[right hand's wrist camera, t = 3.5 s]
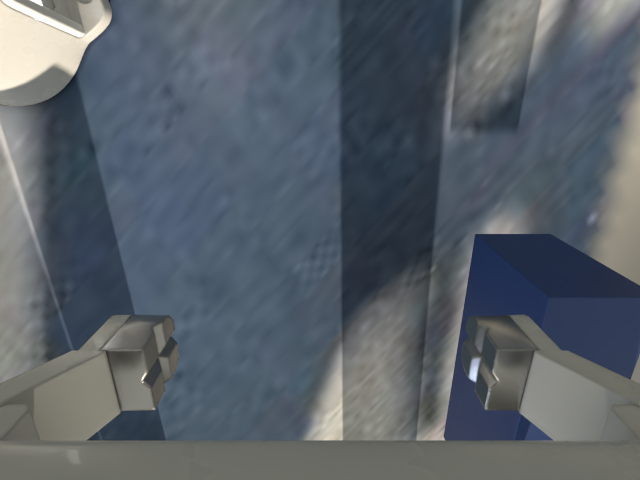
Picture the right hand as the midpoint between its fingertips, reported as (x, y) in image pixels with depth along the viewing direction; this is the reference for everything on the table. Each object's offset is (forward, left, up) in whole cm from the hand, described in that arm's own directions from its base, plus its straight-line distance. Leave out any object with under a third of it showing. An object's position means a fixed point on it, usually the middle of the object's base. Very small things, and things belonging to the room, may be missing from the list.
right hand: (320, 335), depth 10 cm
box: (+15, +15, -19) cm, 28 cm away
